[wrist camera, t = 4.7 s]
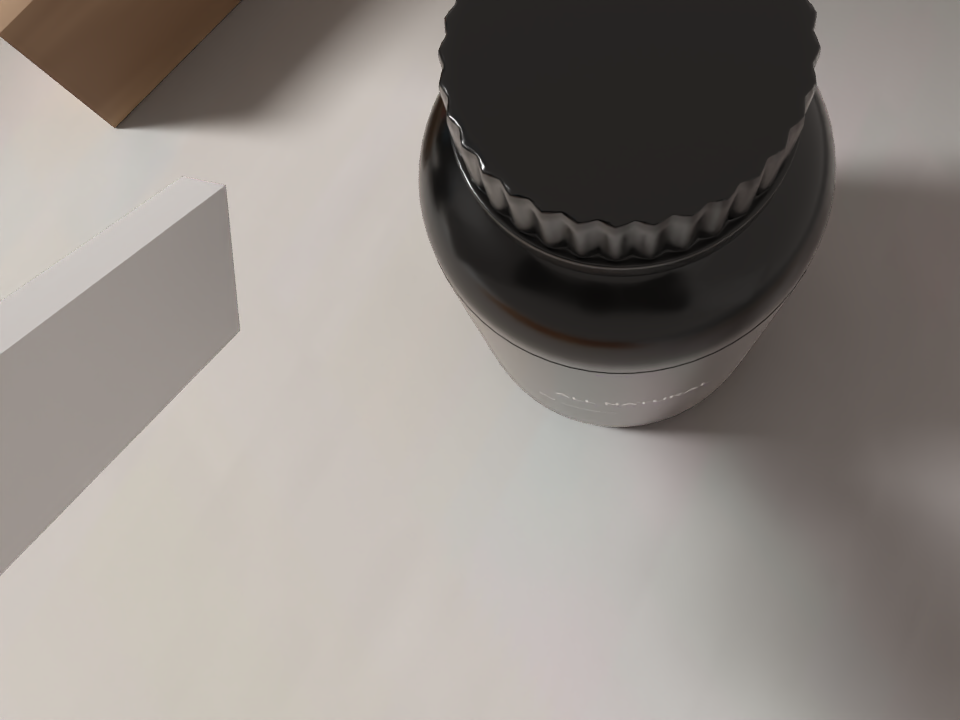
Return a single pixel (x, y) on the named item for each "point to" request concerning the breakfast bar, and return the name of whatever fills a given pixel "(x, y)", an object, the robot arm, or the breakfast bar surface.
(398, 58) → the breakfast bar surface
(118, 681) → the breakfast bar surface
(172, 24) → the walnut block
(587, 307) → the supplement bottle
